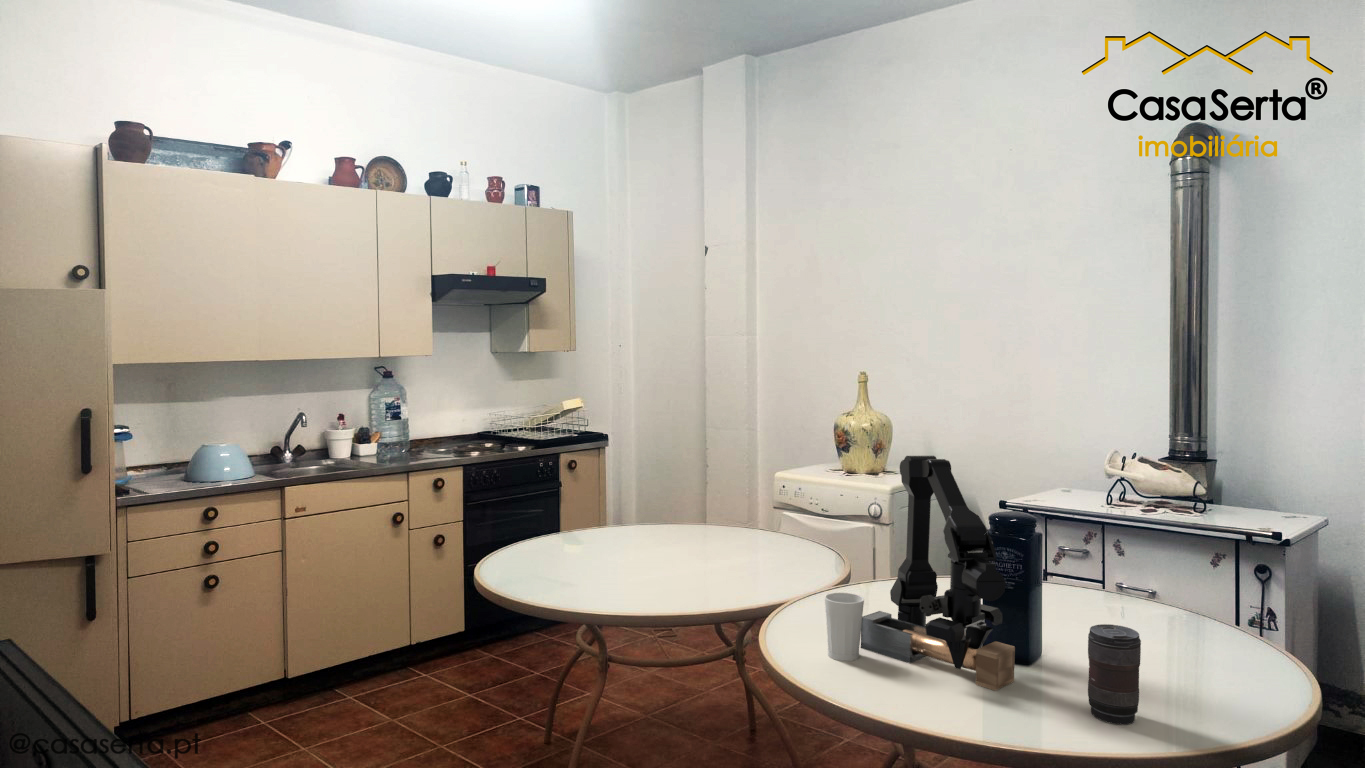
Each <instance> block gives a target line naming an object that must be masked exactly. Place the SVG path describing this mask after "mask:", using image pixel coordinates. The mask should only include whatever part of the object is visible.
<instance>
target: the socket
mask: <svg viewBox="0 0 1365 768" xmlns="http://www.w3.org/2000/svg"><path fill="white" fill-rule="evenodd" d="M1015 656H1016V647H1015V646H1014V645H1012V644H1011V645H1010V644H1006V643H1004V642H1000V641H996V640H995V641H993V642H991V643H988V644H985V645H982V647H981V648H978V649H976V671H975V685H976V686H979V687H981V688H982V687H983V688H986V689H989V690H993V691H998V690H1000V689H1002V688H1004V687H1006V686H1008V685H1010V684H1012V683H1013V682H1015V660H1016V659H1015V658H1016V657H1015Z"/></svg>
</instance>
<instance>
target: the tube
mask: <svg viewBox="0 0 1365 768" xmlns="http://www.w3.org/2000/svg"><path fill="white" fill-rule="evenodd" d="M903 631H904V632H908V633H911V634H913V639H912V652H914V653H918V654H921V655H924V656H926V657H928V658H931V659H934V660H937V661H941V662H944V663H948V664H950V665H954V663H953V660H952V657H951V653H950V650H949V647H948V645H947V642H946V641H945V640H942V639H938V638H935V637H931V636H928V635H924V634H921V633H917V632H914V631H910V630H907V629H905V630H903ZM961 668H964V669H968V670H971V671H975V672H976V649H974V648H971V647H968V649H967V652H966V655H965V658H964V662H963V664H962V667H961Z"/></svg>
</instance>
